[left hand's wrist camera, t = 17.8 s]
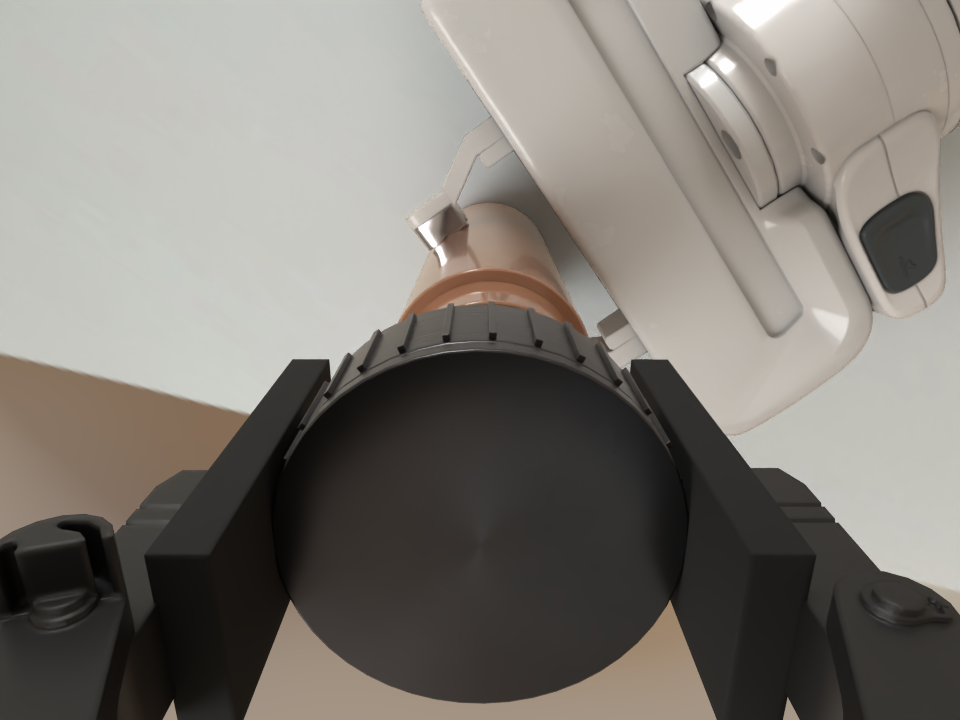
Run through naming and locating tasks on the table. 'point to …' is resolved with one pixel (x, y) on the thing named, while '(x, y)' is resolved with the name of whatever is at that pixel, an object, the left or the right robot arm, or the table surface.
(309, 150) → the table surface
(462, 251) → the jar
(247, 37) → the table surface
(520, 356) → the lid
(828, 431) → the table surface
